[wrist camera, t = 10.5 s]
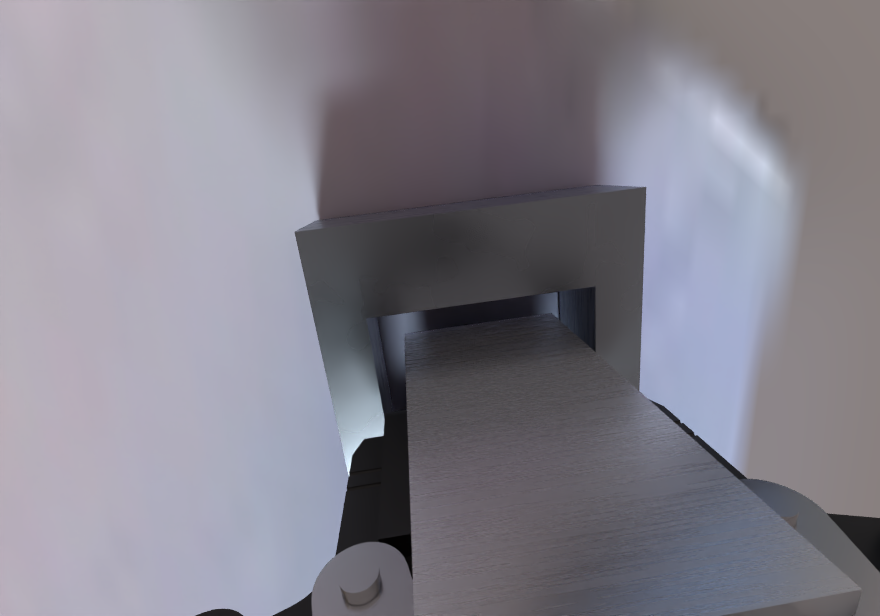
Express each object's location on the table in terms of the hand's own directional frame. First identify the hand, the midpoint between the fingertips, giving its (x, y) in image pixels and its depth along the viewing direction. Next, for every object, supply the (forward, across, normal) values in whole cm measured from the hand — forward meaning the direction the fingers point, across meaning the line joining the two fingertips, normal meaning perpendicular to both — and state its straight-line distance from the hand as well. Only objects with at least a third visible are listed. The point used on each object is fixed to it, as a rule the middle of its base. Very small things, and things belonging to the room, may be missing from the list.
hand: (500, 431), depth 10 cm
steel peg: (+2, 0, 0) cm, 2 cm away
